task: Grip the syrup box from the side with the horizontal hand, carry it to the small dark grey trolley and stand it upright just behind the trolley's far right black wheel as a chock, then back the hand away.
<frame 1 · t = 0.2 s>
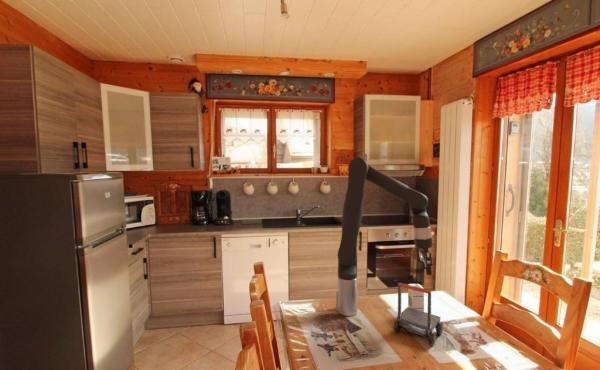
hand: (426, 271, 136), 22 cm above the table, tool pointing down, fingers open, 8 cm apart
syrup box: (415, 316, 140), on the table
trolley: (418, 332, 125), on the table
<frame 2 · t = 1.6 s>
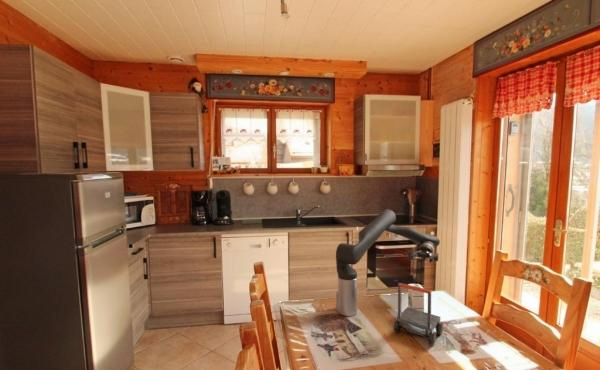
hand: (420, 259, 147), 24 cm above the table, tool horizontal, fingers open, 8 cm apart
nothing on the table moved.
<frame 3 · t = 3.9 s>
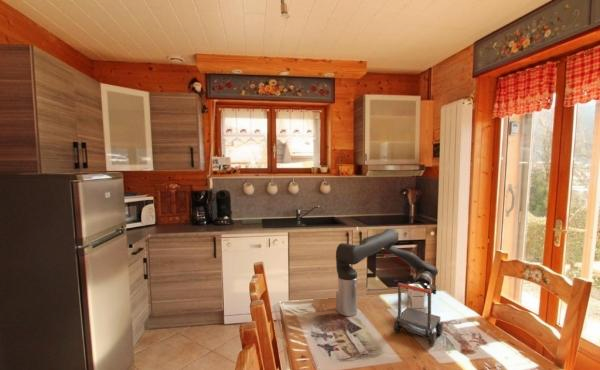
hand: (418, 292, 146), 8 cm above the table, tool horizontal, fingers open, 8 cm apart
nothing on the table moved.
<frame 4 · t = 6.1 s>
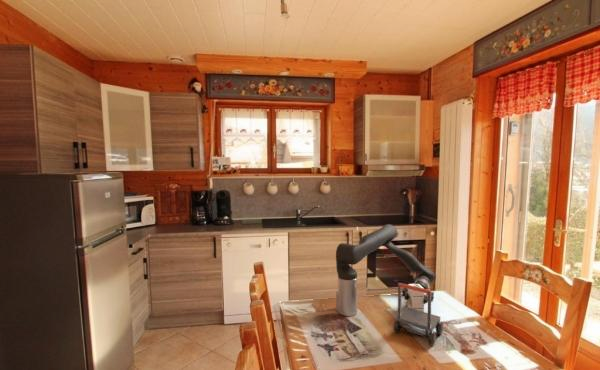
hand: (415, 299, 137), 9 cm above the table, tool horizontal, fingers closed on syrup box, 7 cm apart
syrup box: (415, 316, 140), on the table, touching gripper
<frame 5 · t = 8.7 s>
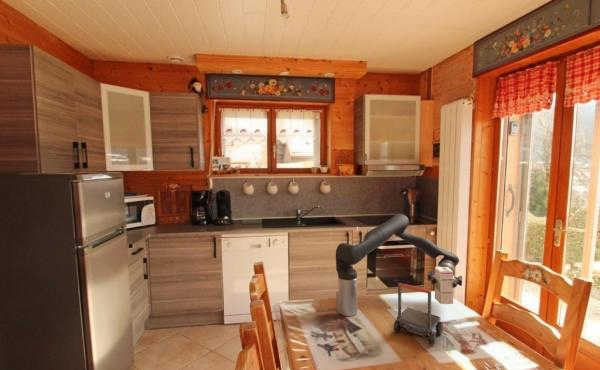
hand: (443, 283, 127), 20 cm above the table, tool horizontal, fingers closed on syrup box, 7 cm apart
syrup box: (443, 301, 130), point 11 cm above the table, touching gripper
when the fingers open (10 cm above the table, at t = 11.3 s): syrup box drops 1 cm, on the table.
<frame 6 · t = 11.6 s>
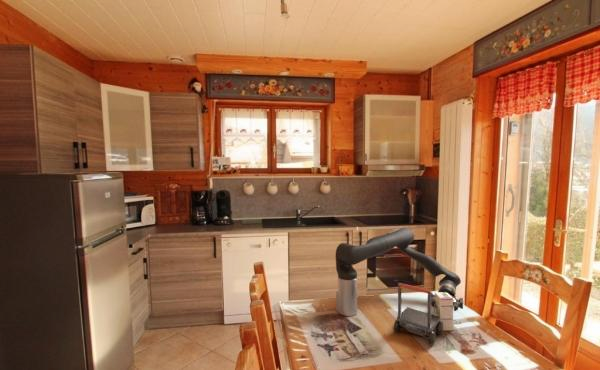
hand: (443, 306, 127), 10 cm above the table, tool horizontal, fingers open, 8 cm apart
syrup box: (443, 327, 129), on the table
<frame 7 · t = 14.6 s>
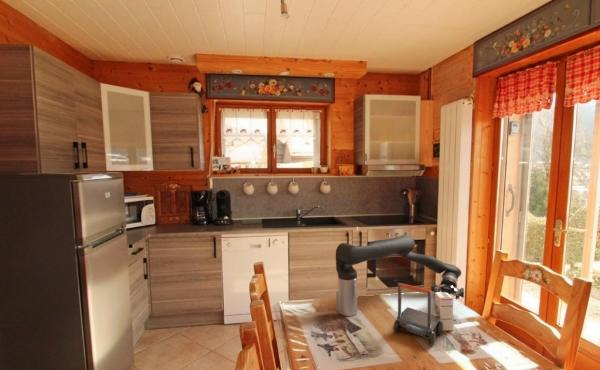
hand: (446, 295, 138), 10 cm above the table, tool horizontal, fingers open, 8 cm apart
nothing on the table moved.
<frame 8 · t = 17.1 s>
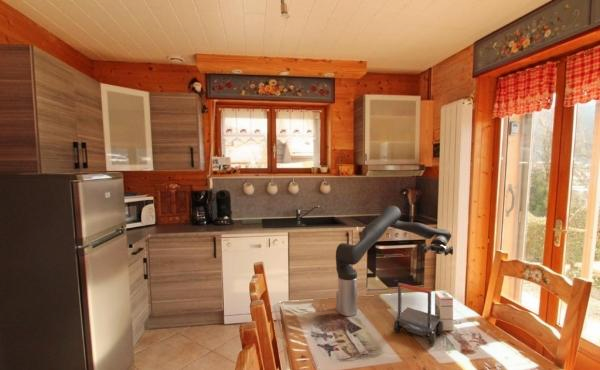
hand: (435, 252, 140), 30 cm above the table, tool horizontal, fingers open, 8 cm apart
nothing on the table moved.
at the end: syrup box 0.9 cm from the target spot on the table beside the trolley, on the table; syrup box tilted 0°; the gripper is holding nothing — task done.
